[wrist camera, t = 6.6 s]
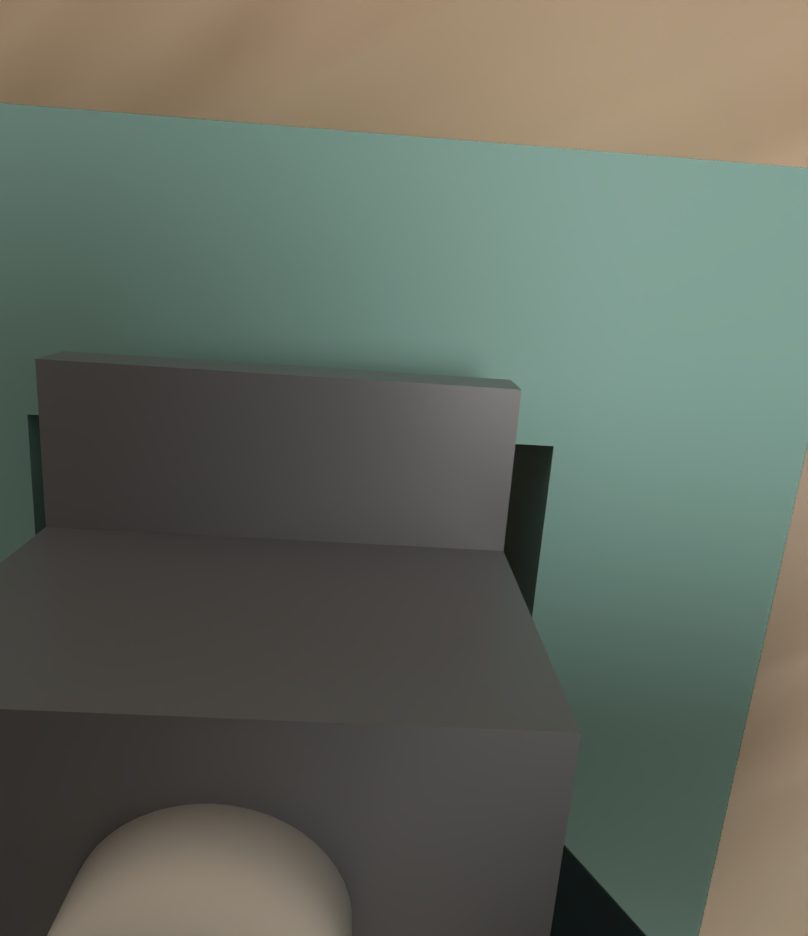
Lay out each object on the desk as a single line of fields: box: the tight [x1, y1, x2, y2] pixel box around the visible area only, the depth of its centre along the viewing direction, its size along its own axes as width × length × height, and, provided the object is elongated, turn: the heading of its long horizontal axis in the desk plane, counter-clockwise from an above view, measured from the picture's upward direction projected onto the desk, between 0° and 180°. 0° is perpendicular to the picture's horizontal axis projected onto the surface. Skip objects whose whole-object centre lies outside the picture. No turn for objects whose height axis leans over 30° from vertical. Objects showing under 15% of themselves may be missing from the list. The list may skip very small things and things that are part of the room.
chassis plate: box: [0, 103, 808, 936], centre depth 11 cm, size 14×12×2 cm
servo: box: [0, 351, 581, 936], centre depth 8 cm, size 9×4×7 cm, turn 176°
